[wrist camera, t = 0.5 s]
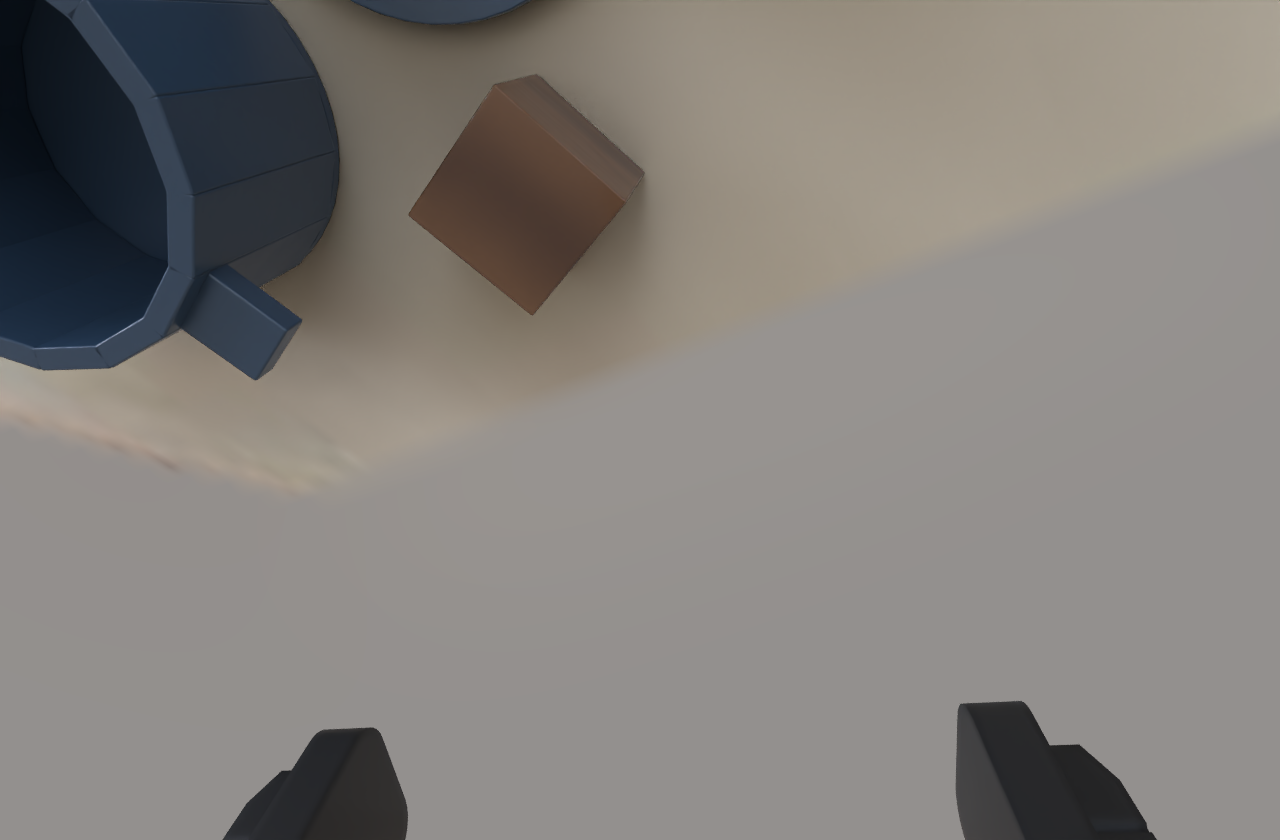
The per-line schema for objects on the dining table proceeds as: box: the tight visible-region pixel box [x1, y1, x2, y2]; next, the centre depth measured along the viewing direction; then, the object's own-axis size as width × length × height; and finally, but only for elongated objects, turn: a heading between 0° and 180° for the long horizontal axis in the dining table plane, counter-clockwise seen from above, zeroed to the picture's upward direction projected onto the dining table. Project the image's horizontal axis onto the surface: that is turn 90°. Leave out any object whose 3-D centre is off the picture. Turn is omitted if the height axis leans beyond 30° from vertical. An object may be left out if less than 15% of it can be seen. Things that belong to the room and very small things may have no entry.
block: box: [409, 74, 645, 315], centre depth 25 cm, size 5×5×5 cm
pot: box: [0, 0, 339, 380], centre depth 24 cm, size 13×18×8 cm
